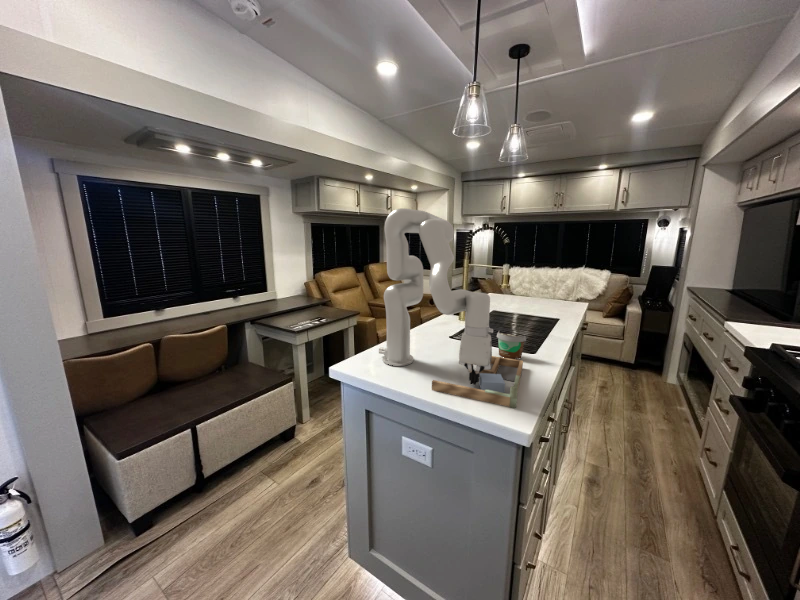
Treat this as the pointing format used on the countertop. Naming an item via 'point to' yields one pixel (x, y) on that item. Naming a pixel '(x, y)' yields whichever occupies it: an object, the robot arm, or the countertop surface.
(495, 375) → the block
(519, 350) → the food container
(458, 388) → the box
